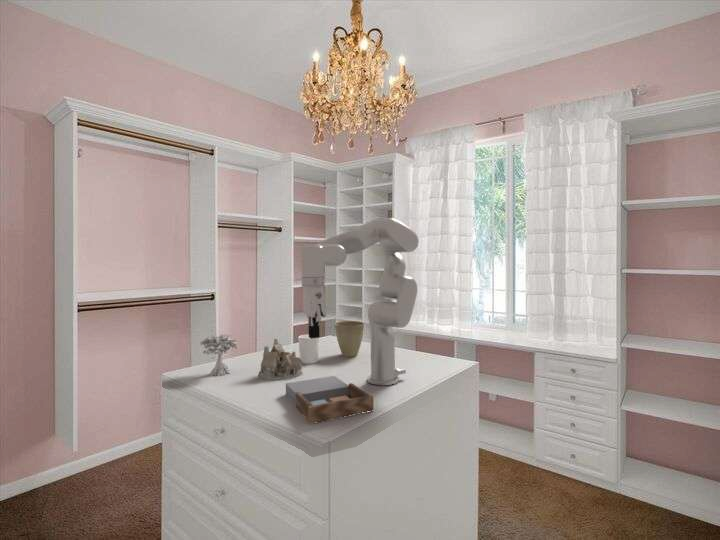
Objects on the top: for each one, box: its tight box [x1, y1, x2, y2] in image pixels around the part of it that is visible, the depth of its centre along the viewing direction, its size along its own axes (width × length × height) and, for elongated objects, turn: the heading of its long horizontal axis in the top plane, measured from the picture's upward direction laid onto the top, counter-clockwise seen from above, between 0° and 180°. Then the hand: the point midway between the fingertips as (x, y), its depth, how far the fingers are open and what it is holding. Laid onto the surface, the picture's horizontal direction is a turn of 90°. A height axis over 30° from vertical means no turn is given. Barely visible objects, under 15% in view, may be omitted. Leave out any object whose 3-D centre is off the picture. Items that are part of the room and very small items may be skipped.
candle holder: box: [297, 333, 320, 365], centre depth 192 cm, size 10×10×12 cm
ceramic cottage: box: [257, 338, 304, 381], centre depth 170 cm, size 16×16×15 cm
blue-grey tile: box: [310, 399, 329, 405], centre depth 132 cm, size 6×6×2 cm
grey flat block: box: [285, 375, 349, 405], centre depth 145 cm, size 19×14×4 cm
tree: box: [199, 333, 238, 377], centre depth 174 cm, size 18×16×17 cm
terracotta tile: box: [328, 396, 350, 403], centre depth 135 cm, size 6×6×2 cm
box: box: [295, 383, 374, 425], centre depth 132 cm, size 21×15×5 cm
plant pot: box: [334, 320, 365, 358], centre depth 203 cm, size 15×15×16 cm
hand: (314, 337), depth 135 cm, fingers closed
